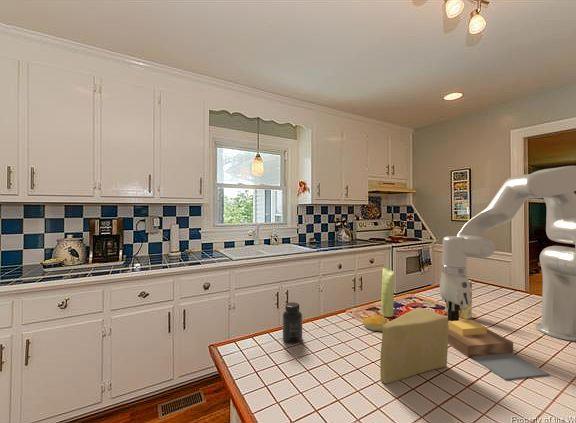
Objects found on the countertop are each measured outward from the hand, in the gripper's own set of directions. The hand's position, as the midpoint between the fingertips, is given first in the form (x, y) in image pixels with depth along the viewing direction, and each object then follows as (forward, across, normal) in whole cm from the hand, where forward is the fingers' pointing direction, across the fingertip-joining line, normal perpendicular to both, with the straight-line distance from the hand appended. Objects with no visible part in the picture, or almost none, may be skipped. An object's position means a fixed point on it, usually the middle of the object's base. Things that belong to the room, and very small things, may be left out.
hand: (453, 320), depth 98 cm
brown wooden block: (+4, -8, 0) cm, 9 cm away
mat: (+4, -21, 0) cm, 21 cm away
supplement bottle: (+5, +3, +59) cm, 59 cm away
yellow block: (+1, -6, 0) cm, 6 cm away
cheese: (+5, -19, +29) cm, 35 cm away
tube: (+5, +18, +16) cm, 24 cm away
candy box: (+5, +14, -14) cm, 20 cm away
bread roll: (+5, +9, +26) cm, 28 cm away
